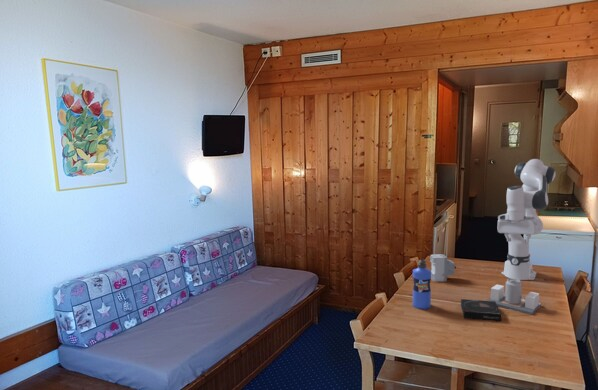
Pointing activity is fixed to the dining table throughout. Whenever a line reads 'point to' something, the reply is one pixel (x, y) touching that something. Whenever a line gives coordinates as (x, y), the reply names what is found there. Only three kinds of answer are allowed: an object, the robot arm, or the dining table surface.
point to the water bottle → (421, 286)
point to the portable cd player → (480, 310)
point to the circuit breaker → (441, 267)
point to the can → (513, 291)
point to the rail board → (525, 306)
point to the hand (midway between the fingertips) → (517, 242)
